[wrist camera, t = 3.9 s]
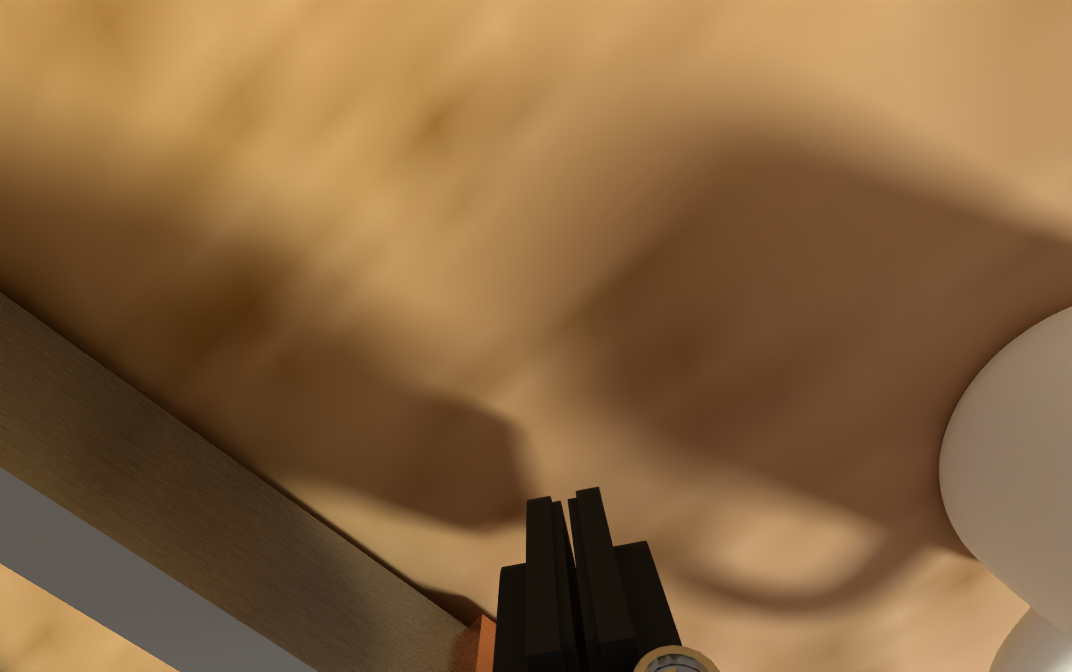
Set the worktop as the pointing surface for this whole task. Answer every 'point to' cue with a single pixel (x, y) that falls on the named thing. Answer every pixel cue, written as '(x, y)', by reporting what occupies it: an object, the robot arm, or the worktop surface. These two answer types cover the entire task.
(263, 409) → the worktop surface
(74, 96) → the worktop surface
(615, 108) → the worktop surface
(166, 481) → the tong arm
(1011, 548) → the cup
